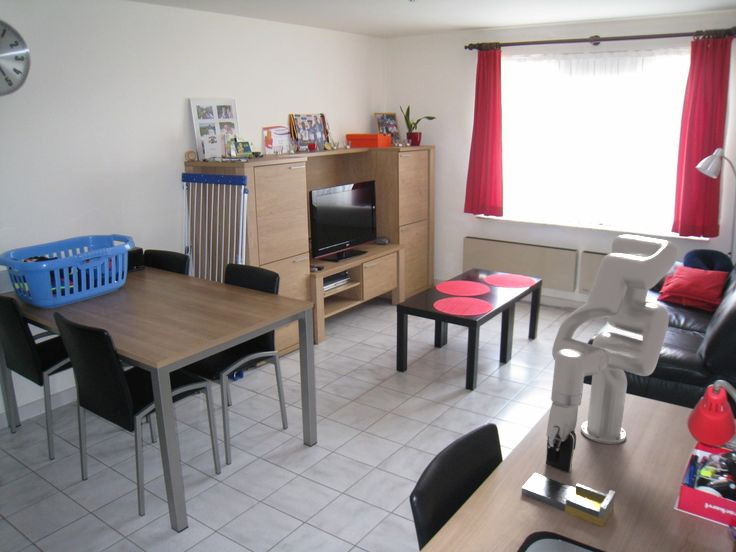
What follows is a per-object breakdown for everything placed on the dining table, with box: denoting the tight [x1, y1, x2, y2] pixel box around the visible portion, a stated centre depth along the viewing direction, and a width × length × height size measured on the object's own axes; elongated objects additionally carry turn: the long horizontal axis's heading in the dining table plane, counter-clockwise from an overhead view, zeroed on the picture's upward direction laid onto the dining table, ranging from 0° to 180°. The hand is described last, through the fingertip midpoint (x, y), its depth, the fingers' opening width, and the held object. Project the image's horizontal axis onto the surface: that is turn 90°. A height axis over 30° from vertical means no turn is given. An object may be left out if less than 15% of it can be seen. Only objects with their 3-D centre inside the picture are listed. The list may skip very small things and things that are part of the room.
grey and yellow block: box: [521, 472, 616, 528], centre depth 147 cm, size 8×20×5 cm, turn 52°
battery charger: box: [545, 431, 577, 473], centre depth 161 cm, size 7×4×11 cm, turn 51°
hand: (559, 454), depth 161 cm, fingers open, 9 cm apart
